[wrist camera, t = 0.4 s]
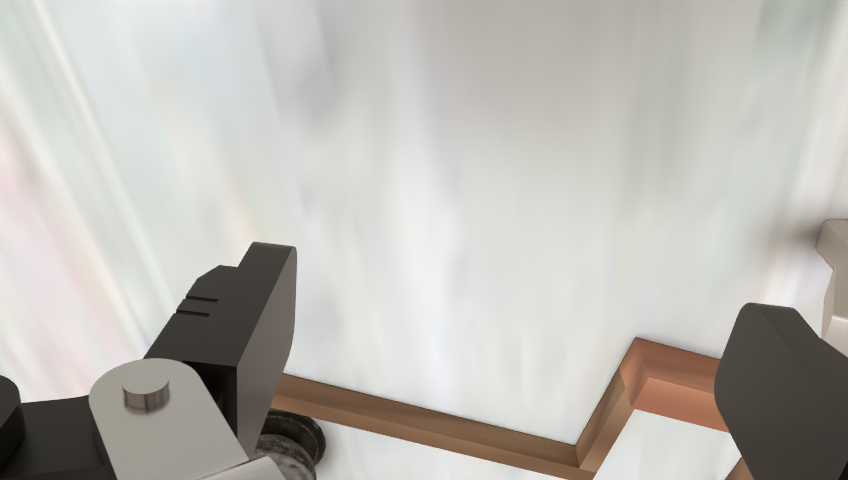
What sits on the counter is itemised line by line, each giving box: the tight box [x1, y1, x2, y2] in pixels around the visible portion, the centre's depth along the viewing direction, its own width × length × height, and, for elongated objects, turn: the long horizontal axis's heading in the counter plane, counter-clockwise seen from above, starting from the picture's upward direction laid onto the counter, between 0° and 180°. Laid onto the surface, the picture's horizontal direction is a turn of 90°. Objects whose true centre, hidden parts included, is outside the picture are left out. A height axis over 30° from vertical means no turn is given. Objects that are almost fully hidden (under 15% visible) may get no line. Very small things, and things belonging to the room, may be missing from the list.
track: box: [270, 338, 754, 480], centre depth 37 cm, size 18×32×3 cm, turn 74°
